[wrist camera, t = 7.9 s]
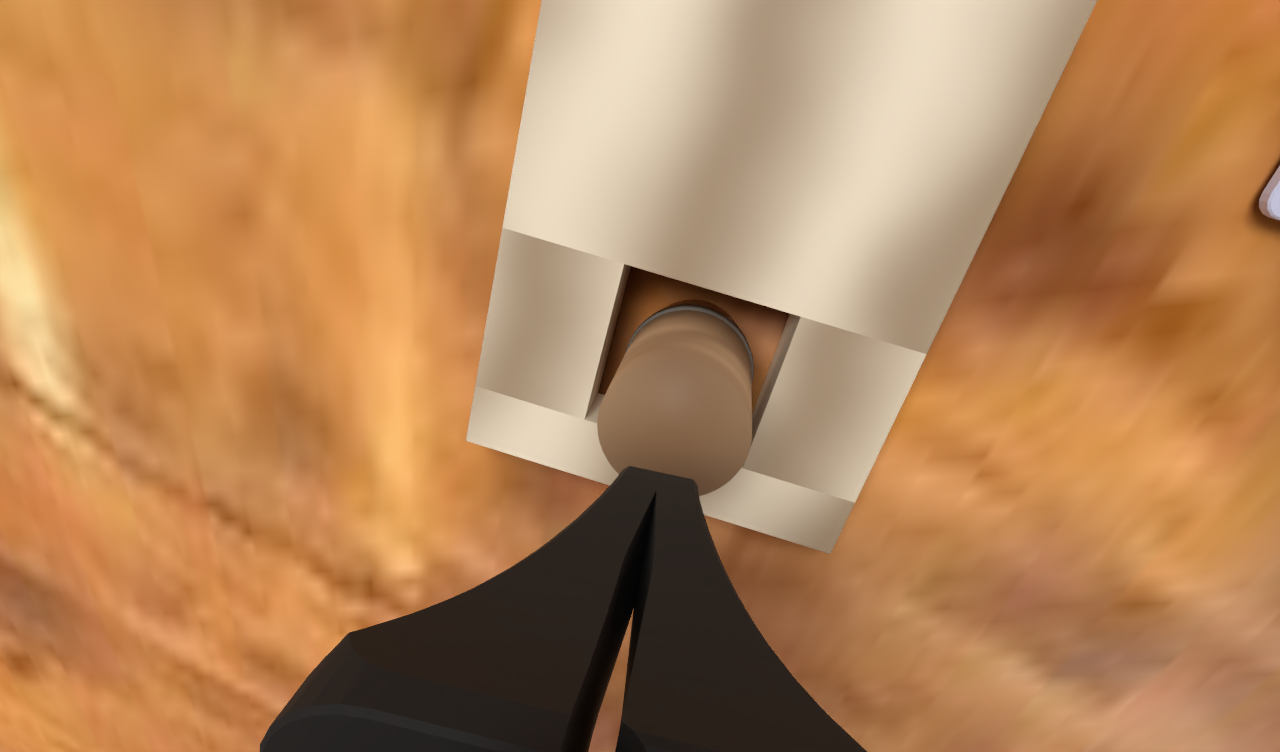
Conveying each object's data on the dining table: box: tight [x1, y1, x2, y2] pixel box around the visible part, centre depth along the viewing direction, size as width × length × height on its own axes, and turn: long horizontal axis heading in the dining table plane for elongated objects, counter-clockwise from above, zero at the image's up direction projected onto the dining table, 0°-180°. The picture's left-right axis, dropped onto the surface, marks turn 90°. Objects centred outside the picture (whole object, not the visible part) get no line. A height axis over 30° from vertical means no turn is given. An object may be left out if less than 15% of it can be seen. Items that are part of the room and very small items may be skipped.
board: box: [466, 0, 1097, 554], centre depth 19 cm, size 12×16×2 cm
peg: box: [597, 300, 753, 496], centre depth 18 cm, size 4×4×6 cm
